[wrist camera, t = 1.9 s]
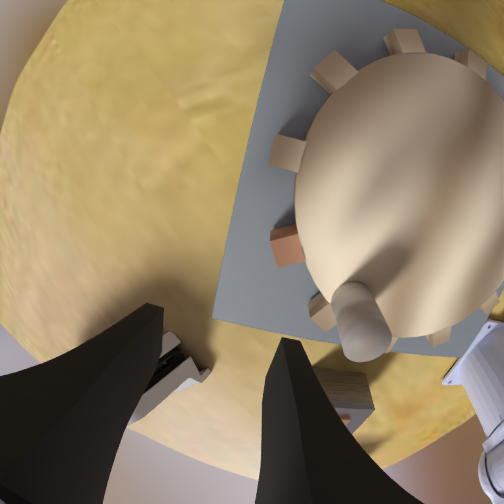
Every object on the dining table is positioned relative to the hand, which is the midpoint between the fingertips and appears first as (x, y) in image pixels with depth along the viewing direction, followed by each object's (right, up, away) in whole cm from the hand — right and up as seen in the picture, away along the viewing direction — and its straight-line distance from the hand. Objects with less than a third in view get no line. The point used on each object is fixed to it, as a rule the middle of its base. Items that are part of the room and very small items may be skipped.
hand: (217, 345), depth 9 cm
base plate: (+11, +6, +5) cm, 14 cm away
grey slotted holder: (-11, -8, +14) cm, 19 cm away
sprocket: (+11, +6, +4) cm, 13 cm away
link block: (+8, -8, +12) cm, 17 cm away
